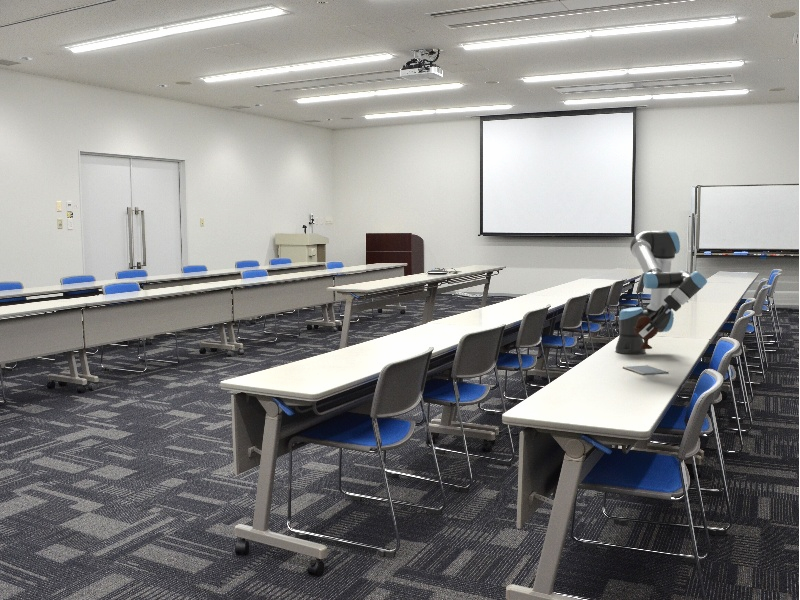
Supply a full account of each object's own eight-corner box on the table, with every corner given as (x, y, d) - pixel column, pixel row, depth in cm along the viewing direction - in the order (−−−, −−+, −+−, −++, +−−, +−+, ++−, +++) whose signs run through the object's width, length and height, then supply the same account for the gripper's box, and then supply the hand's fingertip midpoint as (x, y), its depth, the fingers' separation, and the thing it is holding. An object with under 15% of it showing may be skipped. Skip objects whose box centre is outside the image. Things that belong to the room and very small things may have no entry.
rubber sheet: (622, 368, 335) (622, 366, 335) (647, 366, 338) (647, 365, 338) (642, 375, 319) (642, 373, 318) (668, 373, 321) (668, 371, 321)
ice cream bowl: (660, 350, 321) (660, 317, 319) (634, 349, 323) (634, 316, 322) (656, 346, 331) (657, 314, 330) (631, 346, 333) (632, 314, 332)
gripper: (686, 308, 311) (648, 343, 315) (677, 303, 333) (642, 335, 338) (674, 296, 311) (636, 331, 316) (666, 291, 334) (630, 324, 339)
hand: (639, 333), depth 327 cm, fingers closed on ice cream bowl, 11 cm apart
